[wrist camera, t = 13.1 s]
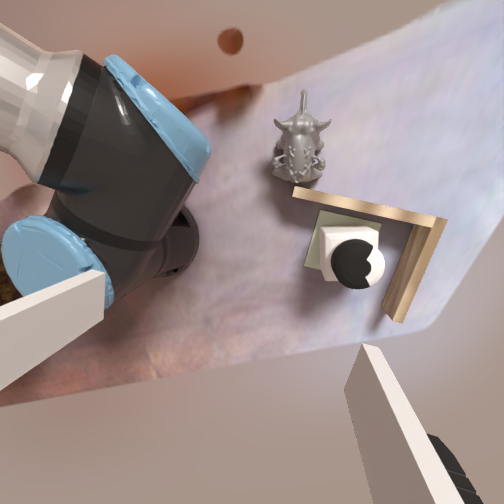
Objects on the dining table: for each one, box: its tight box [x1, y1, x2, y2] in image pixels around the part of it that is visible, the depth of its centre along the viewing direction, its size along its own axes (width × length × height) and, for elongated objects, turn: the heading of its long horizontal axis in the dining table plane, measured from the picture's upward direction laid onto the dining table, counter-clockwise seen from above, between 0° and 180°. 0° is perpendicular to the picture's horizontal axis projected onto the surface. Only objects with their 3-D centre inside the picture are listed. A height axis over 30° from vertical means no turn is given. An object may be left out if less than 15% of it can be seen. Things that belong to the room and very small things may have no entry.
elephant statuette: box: [272, 89, 331, 183], centre depth 35 cm, size 9×12×8 cm
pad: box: [304, 210, 382, 270], centre depth 41 cm, size 10×10×1 cm
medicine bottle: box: [319, 224, 385, 289], centre depth 35 cm, size 7×7×12 cm
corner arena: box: [292, 186, 448, 323], centre depth 39 cm, size 21×16×5 cm
